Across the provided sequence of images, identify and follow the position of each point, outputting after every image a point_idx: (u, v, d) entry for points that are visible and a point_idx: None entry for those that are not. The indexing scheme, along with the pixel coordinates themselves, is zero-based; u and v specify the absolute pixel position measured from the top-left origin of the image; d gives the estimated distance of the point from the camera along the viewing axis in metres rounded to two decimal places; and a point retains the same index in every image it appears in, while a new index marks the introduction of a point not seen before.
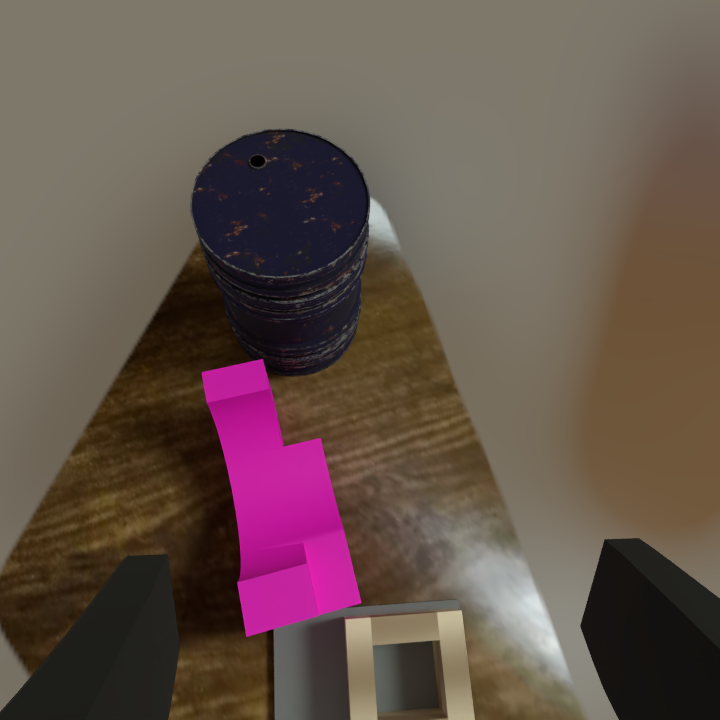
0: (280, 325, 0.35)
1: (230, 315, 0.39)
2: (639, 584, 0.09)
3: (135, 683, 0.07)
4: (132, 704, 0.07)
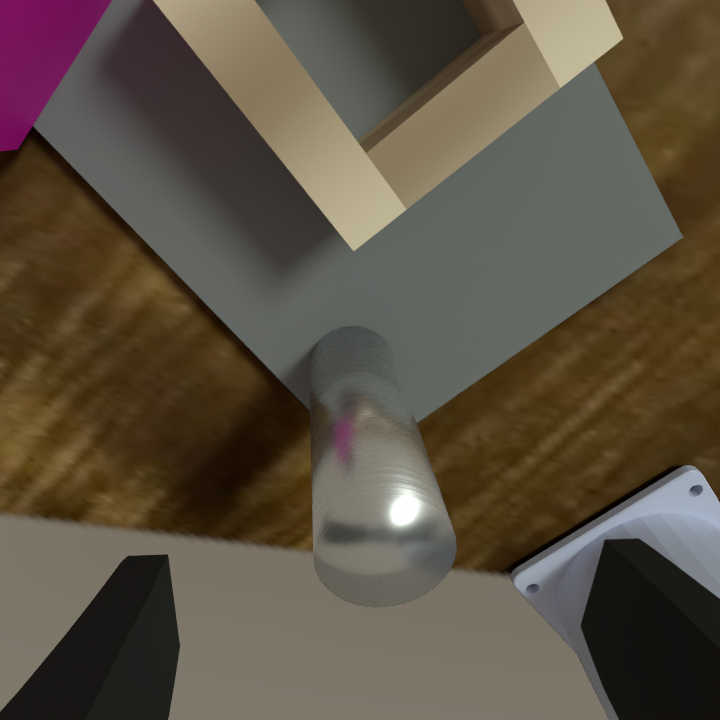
0: None
1: None
2: (639, 584, 0.09)
3: (135, 683, 0.07)
4: (132, 703, 0.07)
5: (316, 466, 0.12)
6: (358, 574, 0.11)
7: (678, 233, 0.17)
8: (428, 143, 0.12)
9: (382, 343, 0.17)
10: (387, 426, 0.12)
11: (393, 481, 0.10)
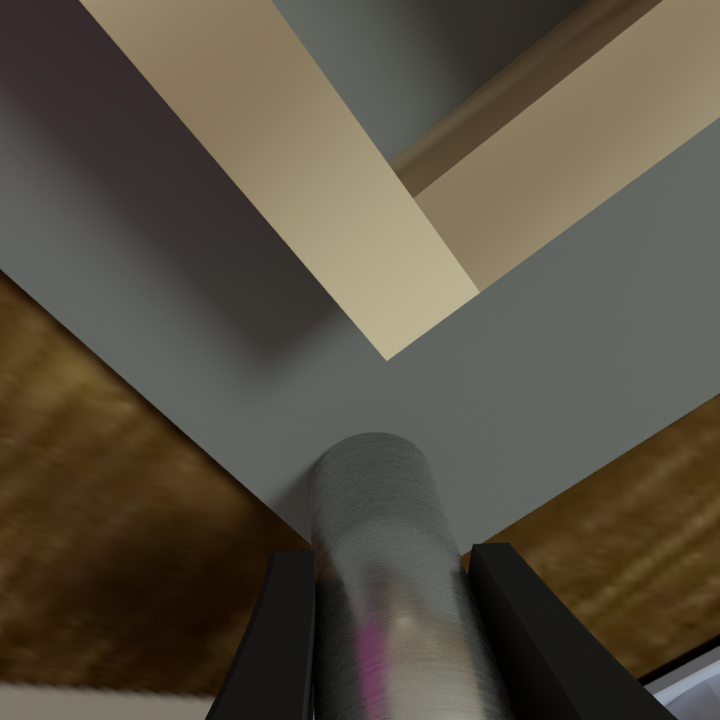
0: None
1: None
2: (493, 590, 0.08)
3: (310, 673, 0.08)
4: (309, 693, 0.07)
5: None
6: None
7: None
8: (524, 181, 0.07)
9: (418, 462, 0.11)
10: (454, 701, 0.07)
11: None
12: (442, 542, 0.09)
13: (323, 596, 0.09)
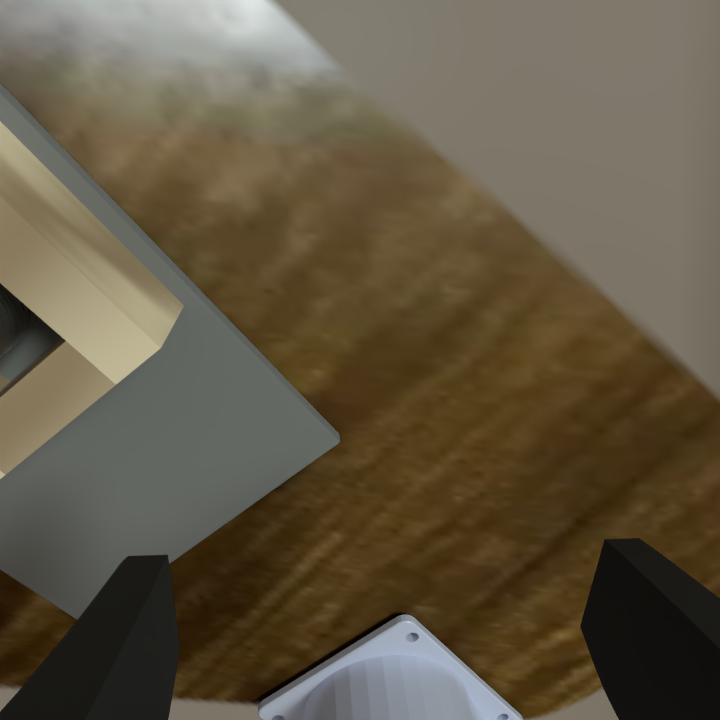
0: None
1: None
2: (639, 584, 0.09)
3: (135, 683, 0.07)
4: (132, 703, 0.07)
5: None
6: None
7: (337, 437, 0.19)
8: (8, 428, 0.14)
9: None
10: None
11: None
12: None
13: None
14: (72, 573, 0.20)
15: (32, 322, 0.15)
